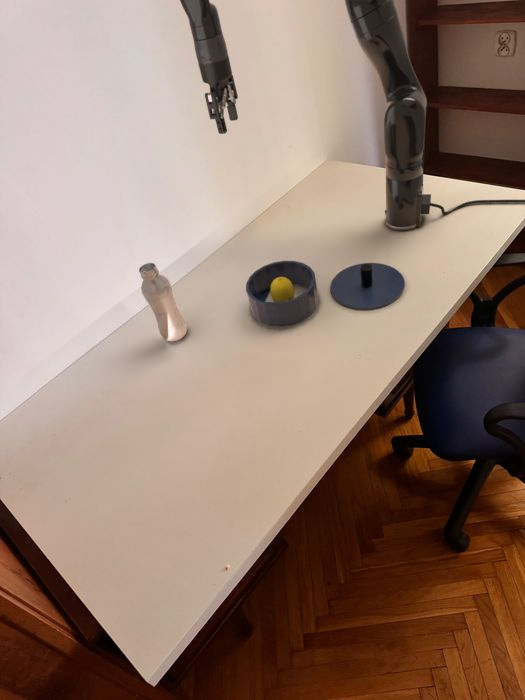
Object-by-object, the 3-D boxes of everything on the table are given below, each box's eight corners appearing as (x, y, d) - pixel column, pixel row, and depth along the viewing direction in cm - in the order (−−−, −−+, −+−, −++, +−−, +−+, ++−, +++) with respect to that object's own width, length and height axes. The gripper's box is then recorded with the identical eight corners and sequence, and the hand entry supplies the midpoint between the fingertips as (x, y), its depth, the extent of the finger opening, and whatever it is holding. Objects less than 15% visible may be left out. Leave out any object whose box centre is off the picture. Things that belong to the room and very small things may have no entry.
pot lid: (407, 267, 116) (408, 245, 112) (400, 314, 105) (400, 292, 101) (338, 265, 122) (336, 245, 117) (324, 309, 111) (321, 289, 106)
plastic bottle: (160, 333, 116) (129, 266, 102) (186, 322, 117) (158, 255, 103) (166, 348, 112) (134, 281, 98) (193, 337, 113) (165, 269, 99)
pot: (324, 285, 117) (321, 261, 112) (309, 330, 107) (305, 305, 102) (263, 283, 122) (257, 260, 117) (243, 325, 112) (236, 302, 107)
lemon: (300, 299, 115) (295, 272, 109) (289, 314, 112) (284, 287, 106) (280, 295, 117) (275, 268, 112) (269, 309, 114) (263, 282, 109)
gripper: (216, 65, 108) (232, 136, 119) (236, 46, 117) (250, 114, 128) (187, 69, 110) (206, 139, 122) (209, 50, 119) (225, 116, 131)
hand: (228, 126), depth 125 cm, fingers open, 8 cm apart
